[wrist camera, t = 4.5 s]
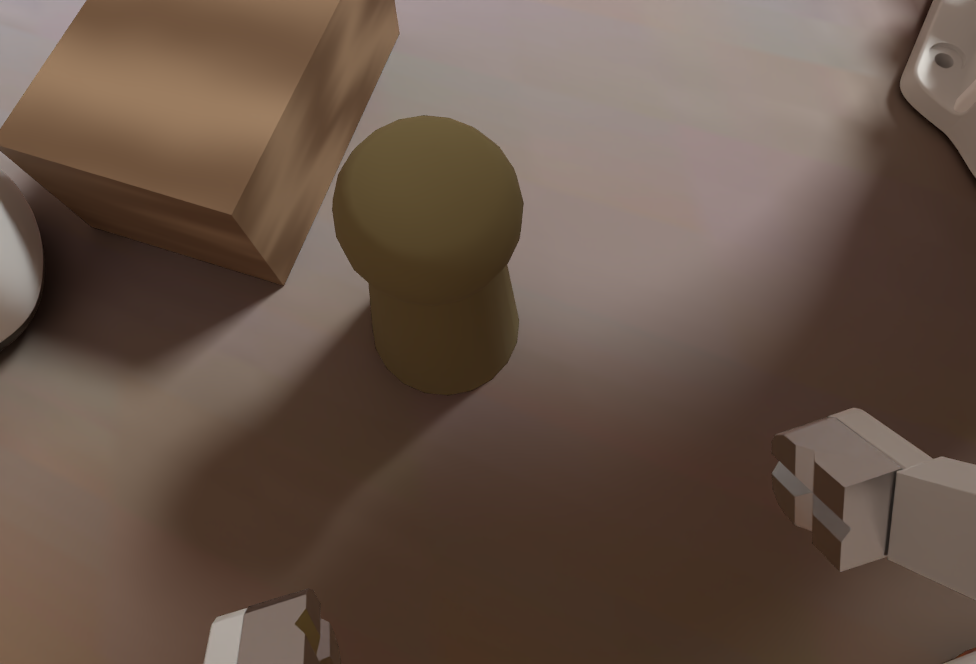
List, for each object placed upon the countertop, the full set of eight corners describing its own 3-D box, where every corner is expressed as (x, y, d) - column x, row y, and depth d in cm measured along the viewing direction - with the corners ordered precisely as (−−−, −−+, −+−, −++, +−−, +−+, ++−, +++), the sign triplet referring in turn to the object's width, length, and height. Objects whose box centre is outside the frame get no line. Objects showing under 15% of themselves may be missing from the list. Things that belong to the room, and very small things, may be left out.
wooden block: (229, -12, 32) (175, -133, 26) (399, 33, 31) (381, -82, 26) (90, 226, 28) (-10, 142, 22) (283, 285, 27) (231, 215, 21)
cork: (352, 373, 26) (265, 252, 15) (398, 242, 28) (349, 56, 17) (497, 412, 25) (509, 315, 15) (534, 276, 27) (568, 107, 17)
